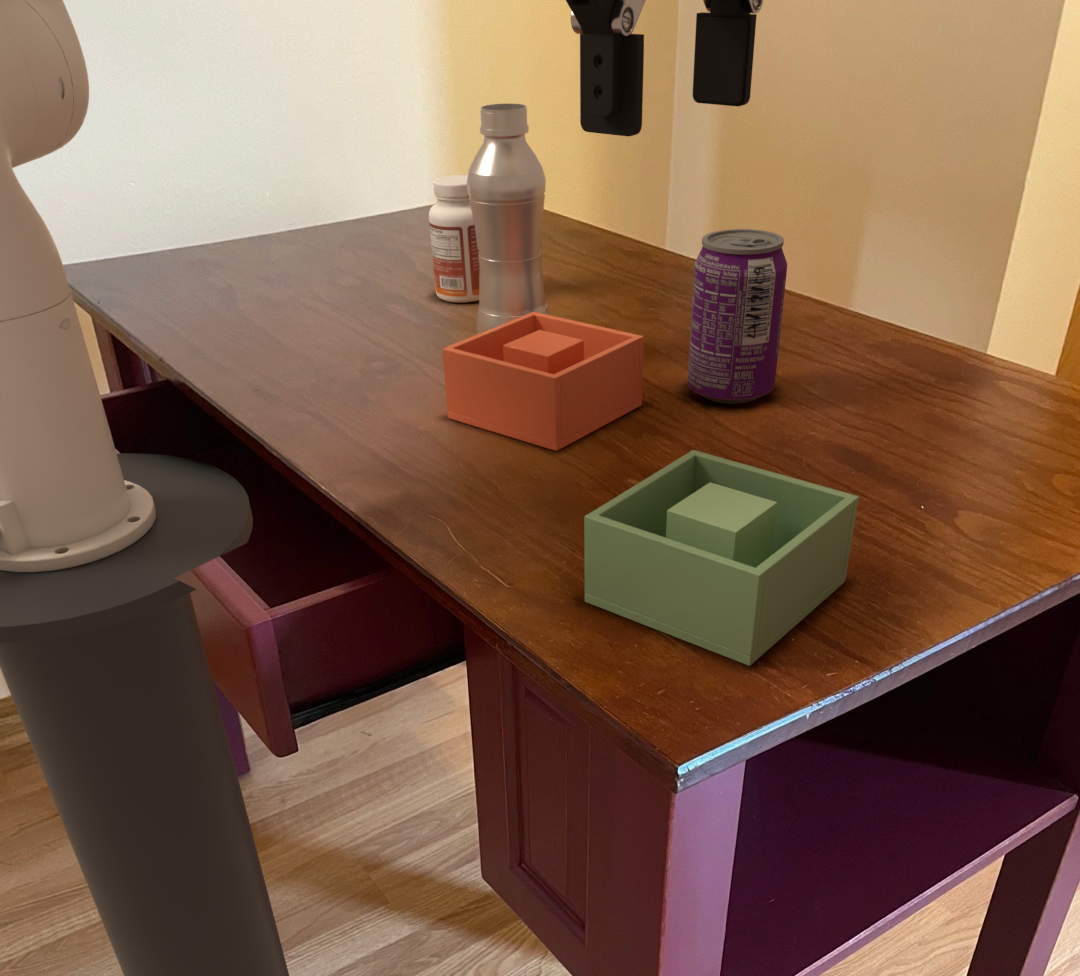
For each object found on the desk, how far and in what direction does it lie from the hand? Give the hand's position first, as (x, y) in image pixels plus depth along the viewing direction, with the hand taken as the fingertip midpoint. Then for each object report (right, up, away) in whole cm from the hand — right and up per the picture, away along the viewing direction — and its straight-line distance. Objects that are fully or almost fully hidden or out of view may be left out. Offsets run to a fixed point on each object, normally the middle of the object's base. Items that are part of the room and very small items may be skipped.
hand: (668, 117), depth 54 cm
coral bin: (-6, -5, +34) cm, 34 cm away
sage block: (+4, -22, +10) cm, 25 cm away
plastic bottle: (-9, +2, +44) cm, 45 cm away
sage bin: (+4, -22, +10) cm, 25 cm away
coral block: (-6, -5, +33) cm, 34 cm away
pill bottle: (-14, +14, +60) cm, 63 cm away
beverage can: (+9, -3, +36) cm, 37 cm away
